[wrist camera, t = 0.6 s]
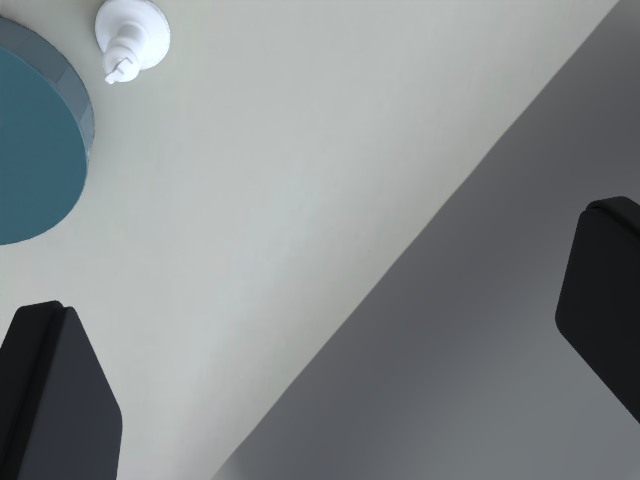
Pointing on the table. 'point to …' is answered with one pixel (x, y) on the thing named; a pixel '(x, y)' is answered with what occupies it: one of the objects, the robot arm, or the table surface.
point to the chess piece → (130, 37)
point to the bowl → (51, 69)
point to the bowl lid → (36, 151)
